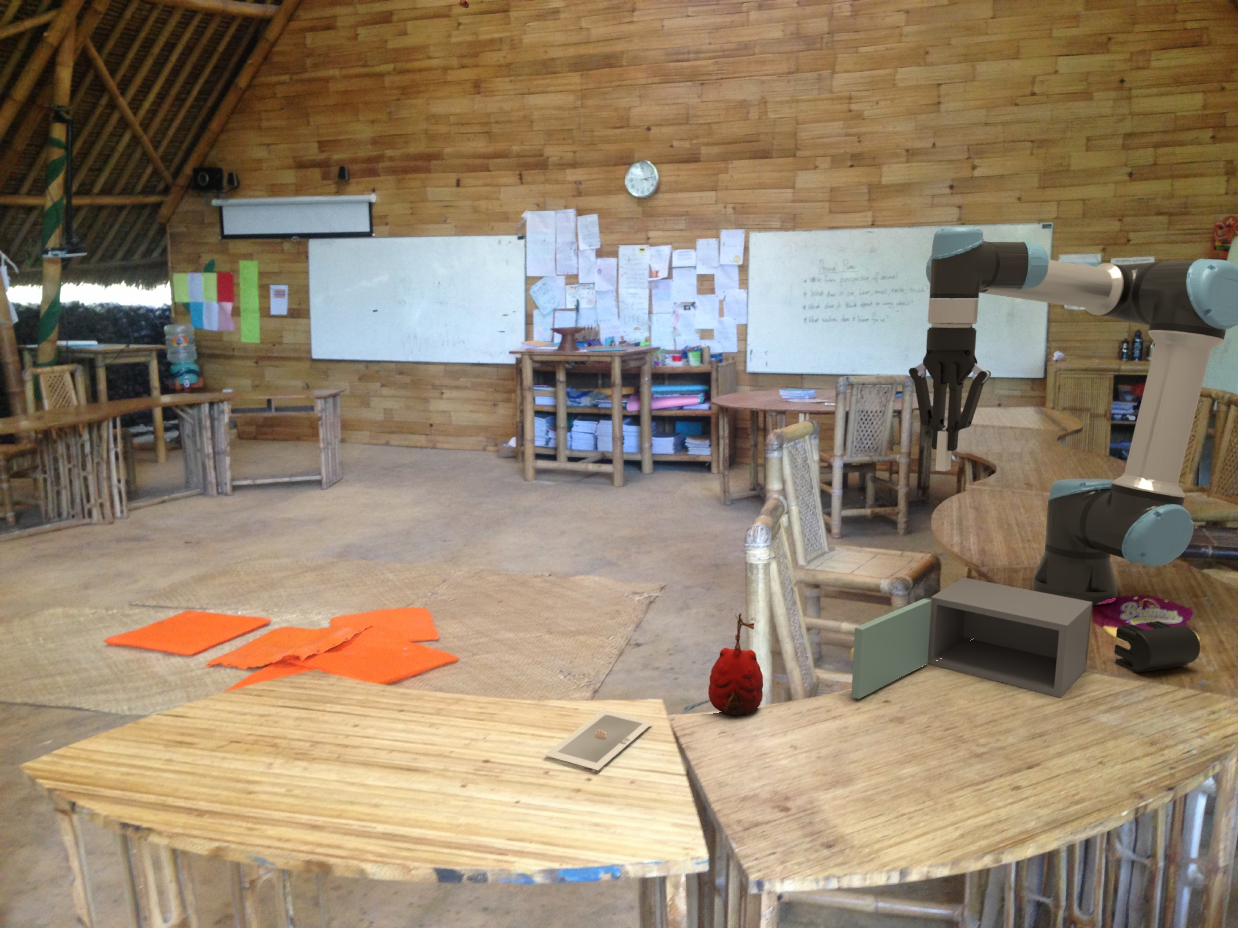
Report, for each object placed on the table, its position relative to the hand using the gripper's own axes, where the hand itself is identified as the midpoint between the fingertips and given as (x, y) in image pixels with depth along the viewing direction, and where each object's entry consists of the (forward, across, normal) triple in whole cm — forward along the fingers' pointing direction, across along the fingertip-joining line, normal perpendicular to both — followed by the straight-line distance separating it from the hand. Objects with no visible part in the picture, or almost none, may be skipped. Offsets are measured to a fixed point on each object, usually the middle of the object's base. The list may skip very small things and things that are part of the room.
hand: (942, 469), depth 154 cm
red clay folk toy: (+29, +10, +46) cm, 55 cm away
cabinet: (+29, -14, +5) cm, 33 cm away
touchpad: (+30, +18, +66) cm, 74 cm away
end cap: (+30, -32, -10) cm, 45 cm away
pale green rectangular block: (+29, -2, +22) cm, 36 cm away
